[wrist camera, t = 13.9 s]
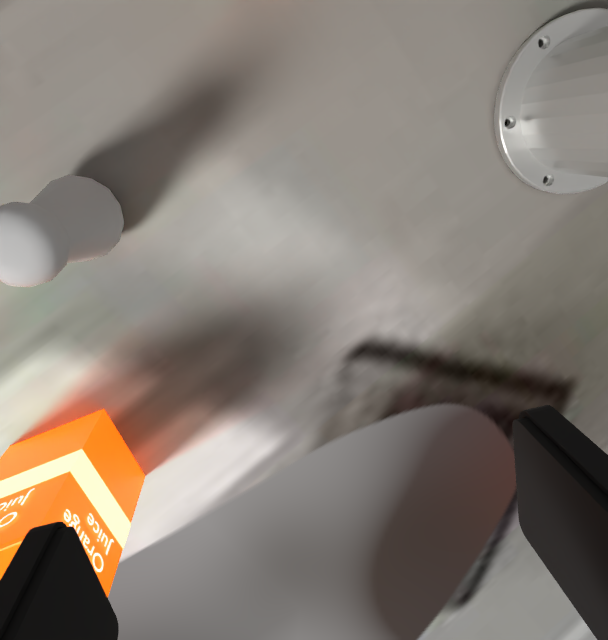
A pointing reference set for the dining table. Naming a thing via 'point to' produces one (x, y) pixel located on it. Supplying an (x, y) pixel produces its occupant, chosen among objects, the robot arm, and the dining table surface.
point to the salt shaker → (57, 230)
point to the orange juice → (71, 489)
